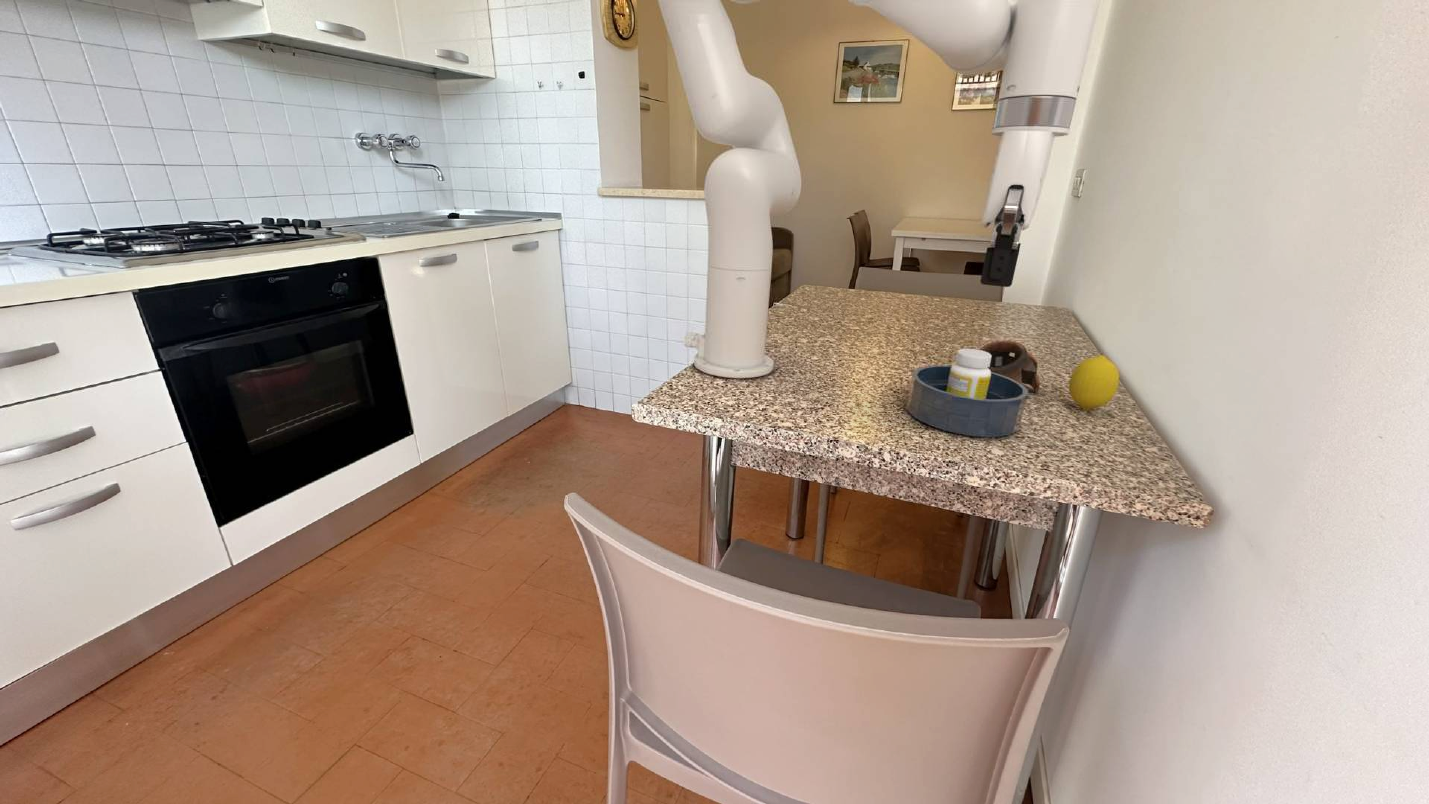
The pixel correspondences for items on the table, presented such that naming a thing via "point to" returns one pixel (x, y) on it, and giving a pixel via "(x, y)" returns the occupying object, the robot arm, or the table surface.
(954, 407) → the bowl
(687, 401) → the table surface
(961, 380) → the supplement bottle
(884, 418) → the table surface
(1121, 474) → the table surface
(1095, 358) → the lemon
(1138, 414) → the table surface
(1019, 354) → the pottery mug
